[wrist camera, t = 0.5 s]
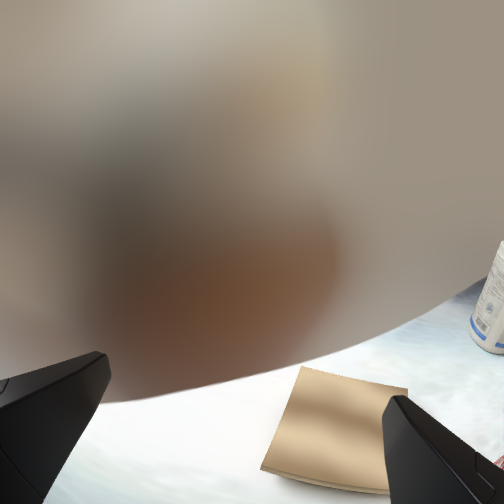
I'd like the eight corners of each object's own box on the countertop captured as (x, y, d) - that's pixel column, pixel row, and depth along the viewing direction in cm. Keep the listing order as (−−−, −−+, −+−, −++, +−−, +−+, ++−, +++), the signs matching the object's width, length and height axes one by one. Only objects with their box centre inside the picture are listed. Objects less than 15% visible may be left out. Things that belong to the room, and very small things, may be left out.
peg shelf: (385, 500, 14) (401, 490, 13) (257, 476, 17) (261, 464, 16) (395, 406, 24) (407, 388, 22) (295, 384, 27) (301, 365, 25)
